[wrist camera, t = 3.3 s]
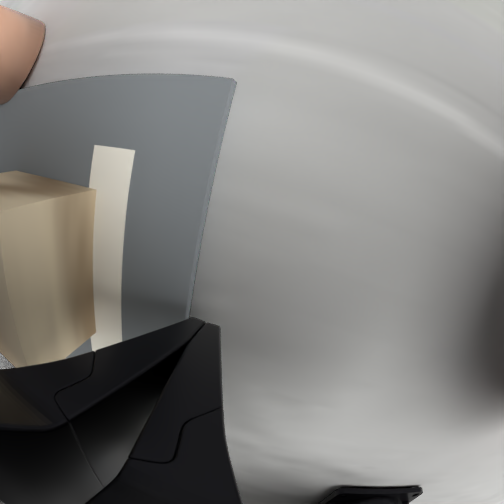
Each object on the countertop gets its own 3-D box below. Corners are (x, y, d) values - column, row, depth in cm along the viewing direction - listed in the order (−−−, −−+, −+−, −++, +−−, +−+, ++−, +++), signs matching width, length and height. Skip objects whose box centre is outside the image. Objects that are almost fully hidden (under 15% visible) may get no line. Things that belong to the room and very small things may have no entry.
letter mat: (236, 82, 7) (232, 78, 6) (177, 419, 12) (173, 425, 11) (4, 95, 9) (-2, 95, 8) (6, 312, 13) (2, 314, 13)
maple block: (96, 189, 8) (-1, 211, 5) (96, 332, 10) (34, 384, 7) (16, 170, 9) (-52, 183, 5) (20, 284, 11) (-33, 314, 7)
